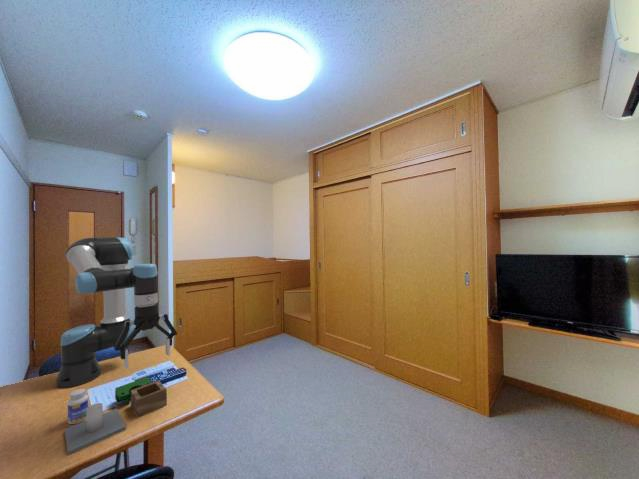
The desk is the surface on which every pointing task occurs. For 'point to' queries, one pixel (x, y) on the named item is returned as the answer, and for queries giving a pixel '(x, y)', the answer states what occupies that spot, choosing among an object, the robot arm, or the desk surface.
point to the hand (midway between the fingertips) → (148, 360)
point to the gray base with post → (93, 428)
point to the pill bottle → (77, 406)
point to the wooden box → (148, 398)
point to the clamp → (129, 389)
